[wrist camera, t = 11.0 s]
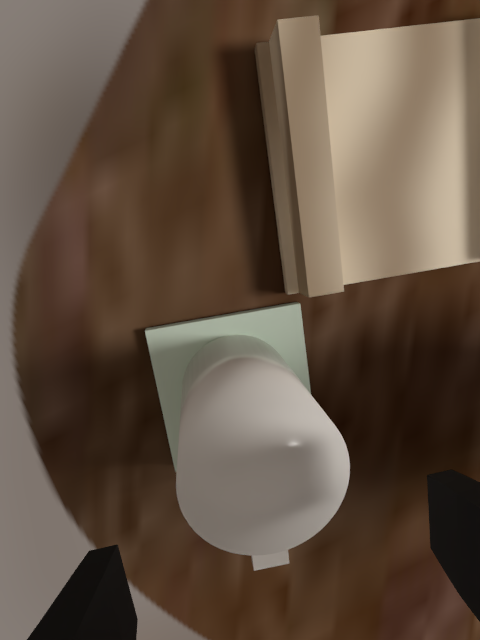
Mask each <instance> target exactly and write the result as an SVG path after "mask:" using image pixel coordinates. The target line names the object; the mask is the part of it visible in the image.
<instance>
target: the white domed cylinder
mask: <svg viewBox="0 0 480 640" xmlns="http://www.w3.org/2000/svg"><path fill="white" fill-rule="evenodd" d="M349 476H350V461H349V454H348V450H347V447H346V444H345V442H344V439H343V437H342V435H341V434H340V432H339V430H338V429H337V427H336V426H335V425H334V423H333V422H332V421H331V420H330V418H329V417H328V416H327V414H326V413H325V412H324V411H323V409H322V408H321V407H320V405H319V404H318V403H317V402H316V400H315V399H314V398H313V397H312V395H311V394H310V393H309V391H308V390H307V389H306V388H305V386H304V385H303V384H302V382H301V381H300V380H299V379H298V377H297V376H296V375H295V373H294V372H293V371H292V370H291V368H290V367H289V366H288V364H287V363H286V362H285V361H284V359H283V358H282V357H281V355H280V354H279V353H278V352H277V351H276V350H275V349H274V348H273V347H272V346H271V345H269V344H268V343H266V342H265V341H263V340H261V339H259V338H256V337H253V336H248V335H228V336H223V337H220V338H217V339H215V340H213V341H211V342H209V343H208V344H206V345H205V346H203V347H202V348H201V349H200V350H199V351H198V352H197V353H196V354H195V355H194V356H193V357H192V359H191V360H190V362H189V364H188V366H187V368H186V370H185V373H184V376H183V381H182V396H181V412H180V427H179V443H178V458H177V474H176V492H177V499H178V502H179V506H180V509H181V511H182V513H183V516H184V517H185V519H186V521H187V522H188V524H189V525H190V526H191V528H192V529H193V530H194V531H195V532H196V533H197V534H198V535H199V536H200V537H201V538H203V539H204V540H205V541H207V542H208V543H210V544H211V545H213V546H216V547H218V548H220V549H222V550H225V551H228V552H231V553H236V554H241V555H251V558H252V563H253V568H254V571H255V570H260V569H265V568H269V567H274V566H279V565H284V564H289V556H288V549H290V548H293V547H295V546H297V545H299V544H301V543H303V542H305V541H307V540H308V539H310V538H311V537H313V536H314V535H315V534H316V533H318V532H319V531H320V530H321V529H322V528H323V527H324V526H325V525H326V524H327V523H328V522H329V521H330V520H331V518H332V517H333V516H334V515H335V513H336V512H337V510H338V508H339V507H340V505H341V503H342V501H343V499H344V496H345V494H346V490H347V487H348V483H349Z"/></svg>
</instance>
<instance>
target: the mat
mask: <svg viewBox="0 0 480 640" xmlns="http://www.w3.org/2000/svg"><path fill="white" fill-rule="evenodd" d="M145 334H146V339H147V343H148V348H149V353H150V357H151V362H152V367H153V371H154V376H155V380H156V385H157V390H158V394H159V399H160V404H161V408H162V413H163V418H164V422H165V427H166V431H167V436H168V441H169V445H170V450H171V455H172V459H173V464H174V468H175V472H176V471H177V458H178V443H179V427H180V412H181V396H182V381H183V376H184V373H185V370H186V368H187V366H188V364H189V362H190V360H191V359H192V357H193V356H194V355H195V354H196V353H197V352H198V351H199V350H200V349H201V348H202V347H203V346H205V345H206V344H208V343H209V342H211V341H213V340H215V339H217V338H220V337H223V336H228V335H248V336H253V337H256V338H259V339H261V340H263V341H265V342H266V343H268V344H269V345H271V346H272V347H273V348H274V349H275V350H276V351H277V352H278V353H279V354H280V355H281V357H282V358H283V359H284V361H285V362H286V363H287V364H288V366H289V367H290V368H291V370H292V371H293V372H294V373H295V375H296V376H297V377H298V379H299V380H300V381H301V382H302V384H303V385H304V386H305V388H306V389H307V390H308V391H309V393H310V394H311V390H310V381H309V373H308V365H307V356H306V348H305V339H304V331H303V323H302V314H301V306H300V303H298V302H293V303H287V304H282V305H276V306H270V307H265V308H259V309H253V310H248V311H242V312H236V313H230V314H225V315H219V316H213V317H208V318H202V319H196V320H191V321H185V322H179V323H174V324H168V325H162V326H157V327H151V328H146V330H145Z"/></svg>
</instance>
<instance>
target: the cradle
mask: <svg viewBox="0 0 480 640" xmlns="http://www.w3.org/2000/svg"><path fill="white" fill-rule="evenodd" d="M254 50H255V58H256V66H257V74H258V81H259V89H260V97H261V105H262V113H263V121H264V129H265V136H266V144H267V152H268V160H269V168H270V176H271V184H272V191H273V199H274V207H275V215H276V223H277V231H278V239H279V246H280V254H281V262H282V270H283V278H284V286H285V293H286V294H294V293H301V294H303V295H305V296H307V297H315V296H320V295H326V294H332V293H338V292H343V291H344V286H343V285H346V284H352V283H357V282H363V281H369V280H375V279H380V278H386V277H392V276H398V275H403V274H409V273H415V272H421V271H426V270H432V269H438V268H444V267H450V266H455V265H461V264H467V263H473V262H478V261H480V18H478V19H469V20H460V21H451V22H442V23H433V24H424V25H415V26H406V27H397V28H388V29H379V30H370V31H361V32H352V33H343V34H334V35H325V36H320V26H319V15H318V16H308V17H299V18H289V19H280V20H277V22H276V25H275V28H274V30H273V33H272V35H271V38H270V40H269V42H262V43H256V46H255V49H254Z"/></svg>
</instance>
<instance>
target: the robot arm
mask: <svg viewBox="0 0 480 640" xmlns="http://www.w3.org/2000/svg"><path fill="white" fill-rule="evenodd" d="M427 482H428V503H429V524H430V545H431V549H432V551H433V553H434V554H435V556H436V558H437V559H438V561H439V563H440V564H441V566H442V568H443V569H444V571H445V573H446V574H447V576H448V577H449V579H450V581H451V582H452V584H453V585H454V587H455V588H456V590H457V592H458V593H459V595H460V596H461V597H462V599H463V600H464V601H465V603H466V604H467V606H468V607H469V608H470V609H471V611H472V612H473V613H474V615H475V616H476V617H477V619H478V620H479V621H480V482H478V481H476V480H474V479H471V478H469V477H467V476H465V475H463V474H460V473H458V472H456V471H453V470H448V471H443V472H439V473H434V474H430V475H427ZM136 633H137V616H136V612H135V608H134V604H133V601H132V597H131V594H130V589H129V586H128V582H127V578H126V575H125V571H124V567H123V563H122V560H121V556H120V552H119V548H118V545H113V546H109V547H105V548H100V549H96V550H91V551H89V552H88V553H87V555H86V556H85V557H84V559H83V560H82V562H81V563H80V565H79V566H78V568H77V569H76V570H75V572H74V573H73V575H72V576H71V577H70V579H69V580H68V582H67V583H66V585H65V586H64V588H63V589H62V591H61V592H60V594H59V595H58V596H57V598H56V599H55V601H54V602H53V604H52V605H51V606H50V608H49V609H48V611H47V612H46V614H45V615H44V616H43V618H42V620H41V621H40V622H39V624H38V625H37V627H36V628H35V629H34V631H33V632H32V633H31V635H30V636H29V638H28V639H27V640H136Z"/></svg>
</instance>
